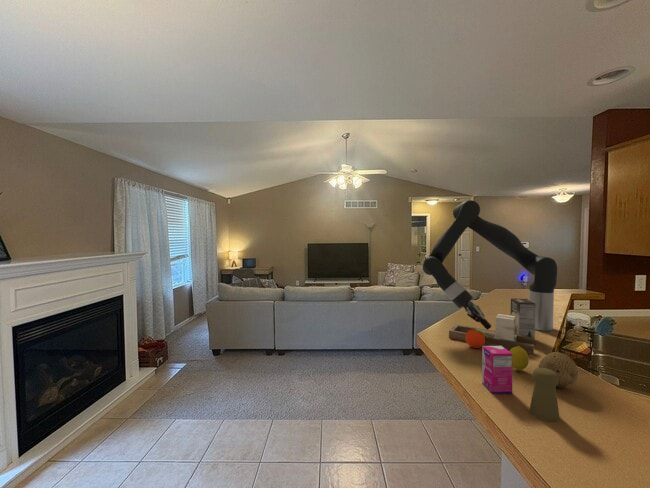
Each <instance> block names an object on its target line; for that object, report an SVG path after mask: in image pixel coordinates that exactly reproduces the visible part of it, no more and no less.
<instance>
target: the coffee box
mask: <svg viewBox="0 0 650 488" xmlns="http://www.w3.org/2000/svg"><path fill="white" fill-rule="evenodd" d="M535 310H536V304H535V303H533V302H532V301H530V300H529V298H528V299H527V298H513V297H511V298H510V316H515V334H516V335H523V336H529V337H535V336H536V329H535Z"/></svg>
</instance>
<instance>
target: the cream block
mask: <svg viewBox="0 0 650 488" xmlns="http://www.w3.org/2000/svg"><path fill="white" fill-rule="evenodd" d="M510 315H511V314H510ZM510 315H508V314H501V313H497V315H496V316H495V331H496V337H497V338H503V339H508V340H514V337H515V316H510Z"/></svg>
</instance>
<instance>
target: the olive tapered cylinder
mask: <svg viewBox="0 0 650 488" xmlns="http://www.w3.org/2000/svg"><path fill="white" fill-rule="evenodd" d="M531 376H532V377H531V378H532V379H533V381H534V385H533V388H532V393H531V394H532V395H531V400H530V404H529V405H530V407H529V410H528V411H529V413H530V414H531V415H532V416H534V417H535V418H536V419H539V420H541V421H545V422H549V423H550V422H551V423H556V422H560V419H561V417H560V411H559V401H558V395H557V389H556V388H557V387H556V385H557V384H558V380H559V378H558V376H557V374H556V373H555V372H554V371H552V370H550V369H546V368H539V367H535V368H534V369H533V370H532V374H531Z"/></svg>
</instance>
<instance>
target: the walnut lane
mask: <svg viewBox="0 0 650 488" xmlns="http://www.w3.org/2000/svg"><path fill="white" fill-rule="evenodd" d="M471 329H476V330H480V331H482V332H484V333H485V334H486V335H487V336H486V335H485V334H484V336H485V343H484V345H483V346H502V347H504V348H505V349H507V350H509V351H510V350H511V349H512V348H513V347H517V346H520V347H521V348H523V349H524V350H525V351H526V352H527V354H531V355H535V353H534V351H535V350H534V349H535V348H534V347H535V346H536V345H535V337H529V336H523V335H516V334H515V337H514V340H508V339H503V338H497V337H496V330H490V329H488V330H487V329H486V328H478V327H473V326H468V325H467V326H466V325H461V324H454V325H453V326H452V327H451V328H449V330H448V338H449V339H453V340H458V341H463V342H466V339H465V336H466V333H467V332H468V331H469V330H471ZM487 337H488V338H487Z"/></svg>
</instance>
